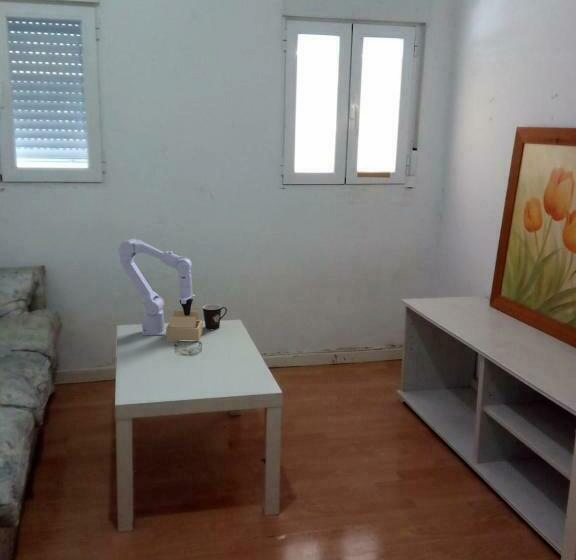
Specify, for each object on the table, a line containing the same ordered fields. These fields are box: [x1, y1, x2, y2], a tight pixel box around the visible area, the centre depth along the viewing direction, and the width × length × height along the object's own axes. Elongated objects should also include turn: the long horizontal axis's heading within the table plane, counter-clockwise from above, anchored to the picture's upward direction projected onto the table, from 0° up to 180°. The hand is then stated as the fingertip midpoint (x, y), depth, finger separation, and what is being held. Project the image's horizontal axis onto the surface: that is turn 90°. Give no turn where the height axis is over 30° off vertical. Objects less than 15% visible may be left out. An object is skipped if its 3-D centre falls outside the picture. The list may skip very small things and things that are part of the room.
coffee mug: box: [202, 303, 228, 331], centre depth 294 cm, size 12×9×10 cm
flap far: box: [172, 309, 200, 320], centre depth 284 cm, size 5×11×1 cm
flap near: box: [169, 316, 196, 328], centre depth 276 cm, size 5×11×1 cm
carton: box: [165, 319, 204, 343], centre depth 281 cm, size 14×12×6 cm
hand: (187, 315), depth 283 cm, fingers closed, pressing on flap far
